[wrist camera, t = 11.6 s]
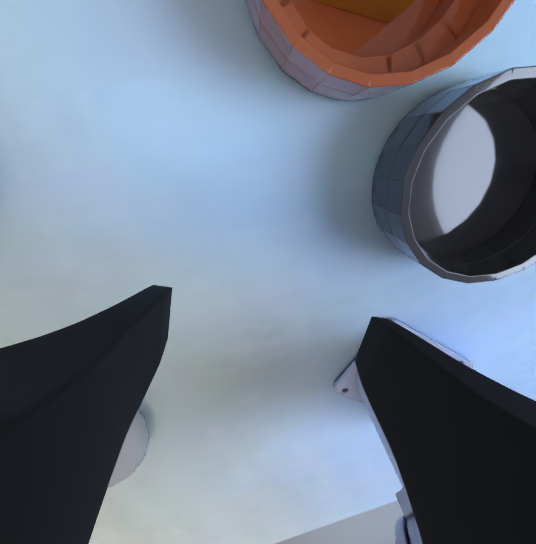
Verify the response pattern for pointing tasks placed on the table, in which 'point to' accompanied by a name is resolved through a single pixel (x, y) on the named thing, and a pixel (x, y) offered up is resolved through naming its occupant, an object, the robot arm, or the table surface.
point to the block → (371, 7)
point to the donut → (131, 450)
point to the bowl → (371, 42)
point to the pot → (464, 179)
